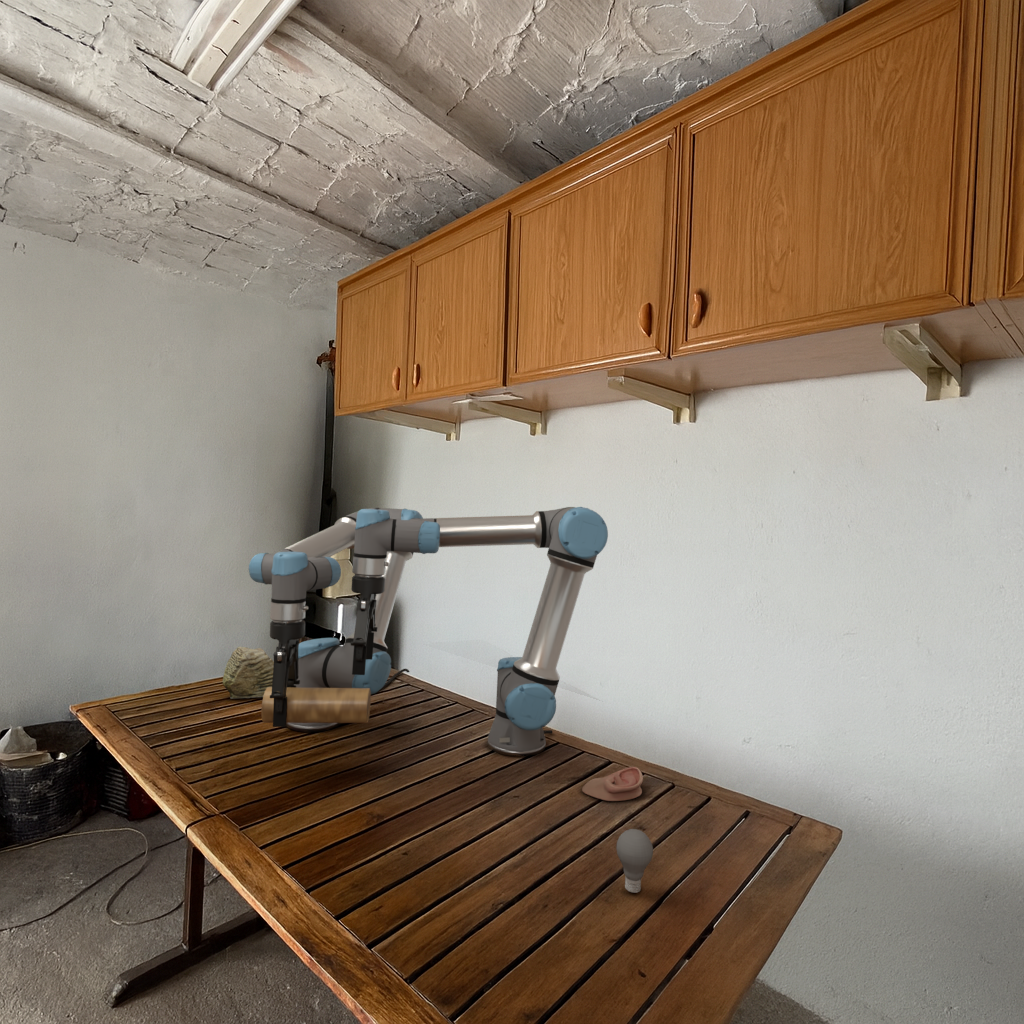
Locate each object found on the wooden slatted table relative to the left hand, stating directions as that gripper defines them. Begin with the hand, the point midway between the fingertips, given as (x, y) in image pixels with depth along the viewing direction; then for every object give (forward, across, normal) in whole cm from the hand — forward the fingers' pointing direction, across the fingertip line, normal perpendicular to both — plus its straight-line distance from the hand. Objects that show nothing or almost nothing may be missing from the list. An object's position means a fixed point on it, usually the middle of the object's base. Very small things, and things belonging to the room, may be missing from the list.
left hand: (284, 719), depth 144 cm
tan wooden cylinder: (0, 0, -7) cm, 7 cm away
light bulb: (+12, -47, -68) cm, 83 cm away
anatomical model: (+12, -10, -74) cm, 76 cm away
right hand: (-12, +1, -17) cm, 21 cm away
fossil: (+12, +56, +22) cm, 62 cm away
